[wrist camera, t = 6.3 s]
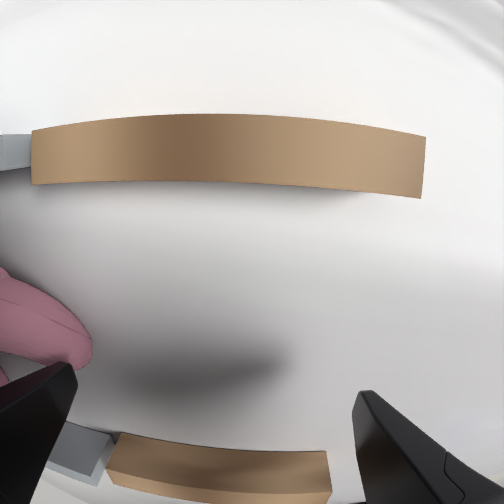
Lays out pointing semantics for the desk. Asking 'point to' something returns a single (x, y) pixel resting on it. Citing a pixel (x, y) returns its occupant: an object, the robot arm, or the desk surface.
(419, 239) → the desk surface
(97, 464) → the grey u-shaped frame
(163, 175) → the pair of wooden bars
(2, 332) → the video game controller
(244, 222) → the desk surface
